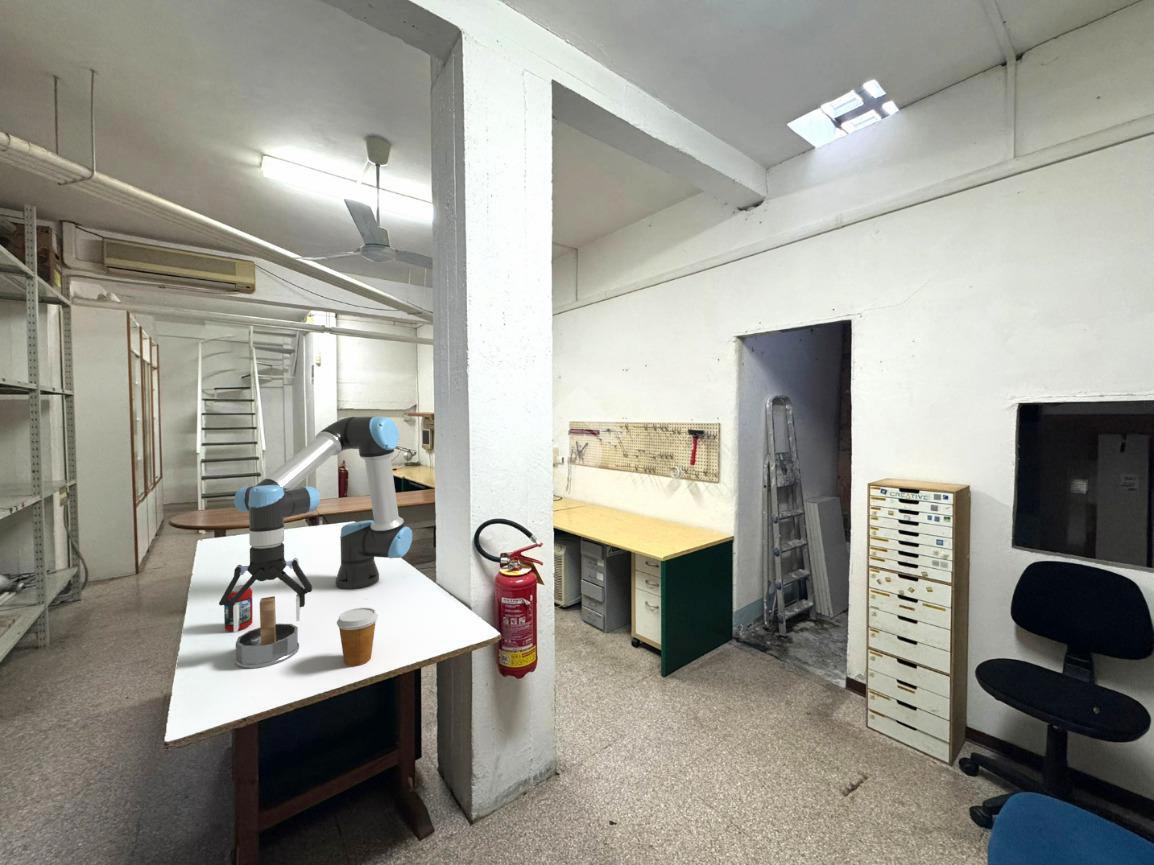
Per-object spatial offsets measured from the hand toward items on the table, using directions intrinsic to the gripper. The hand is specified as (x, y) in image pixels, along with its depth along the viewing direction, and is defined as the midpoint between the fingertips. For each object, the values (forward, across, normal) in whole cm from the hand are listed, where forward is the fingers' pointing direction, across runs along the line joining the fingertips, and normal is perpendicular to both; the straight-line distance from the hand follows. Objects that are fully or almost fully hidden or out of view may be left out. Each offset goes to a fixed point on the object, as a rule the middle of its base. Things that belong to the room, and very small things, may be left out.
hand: (268, 624), depth 120 cm
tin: (+8, 0, 0) cm, 8 cm away
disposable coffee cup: (+8, -21, +14) cm, 27 cm away
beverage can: (+8, +10, -23) cm, 26 cm away
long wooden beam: (+7, 0, 0) cm, 7 cm away
